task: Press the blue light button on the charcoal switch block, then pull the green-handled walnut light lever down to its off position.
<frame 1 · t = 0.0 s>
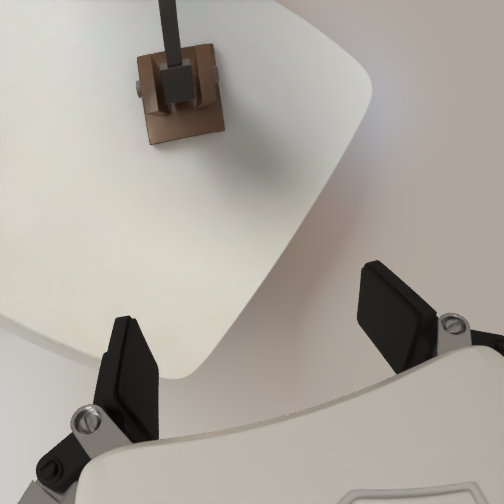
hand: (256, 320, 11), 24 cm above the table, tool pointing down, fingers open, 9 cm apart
lever bracket: (180, 93, 27), on the table
light lever: (169, 24, 15), point 12 cm above the table, hinge at 25.0°
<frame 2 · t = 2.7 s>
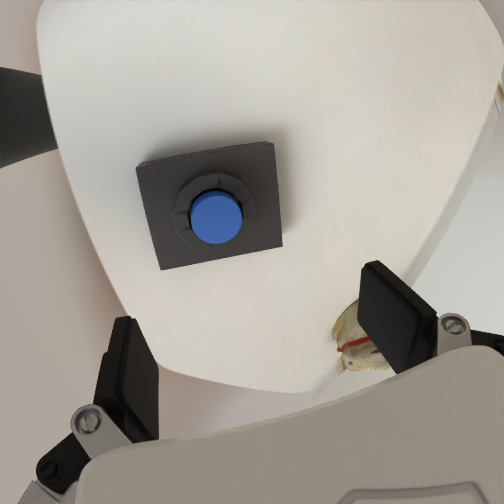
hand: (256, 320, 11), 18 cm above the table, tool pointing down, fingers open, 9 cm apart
button block: (211, 202, 28), on the table
blue button: (215, 217, 24), point 4 cm above the table, slide at 0.1 cm
chocolate bunny: (350, 318, 39), on the table
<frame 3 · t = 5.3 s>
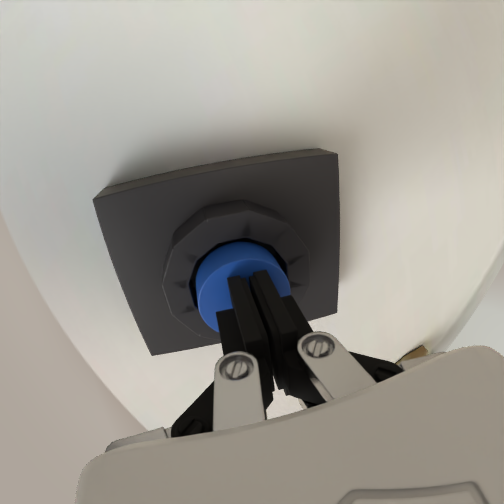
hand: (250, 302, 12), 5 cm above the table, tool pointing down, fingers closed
button block: (227, 248, 17), on the table
blue button: (241, 290, 13), point 4 cm above the table, slide at 0.0 cm, touching gripper
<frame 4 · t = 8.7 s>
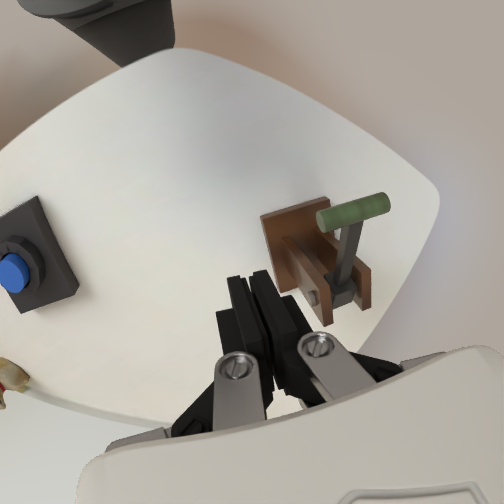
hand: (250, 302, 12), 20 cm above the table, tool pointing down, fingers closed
button block: (28, 255, 28), on the table
lever bracket: (301, 244, 35), on the table
blue button: (13, 273, 24), point 4 cm above the table, slide at 0.1 cm
chocolate bunny: (10, 367, 34), on the table
light lever: (345, 259, 22), point 12 cm above the table, hinge at 25.0°
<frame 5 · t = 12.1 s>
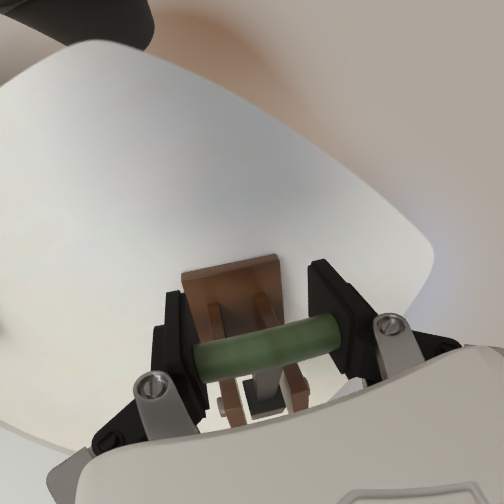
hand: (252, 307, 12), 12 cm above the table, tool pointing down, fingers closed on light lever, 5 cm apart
lever bracket: (237, 310, 27), on the table
light lever: (264, 382, 14), point 12 cm above the table, hinge at 25.0°, touching gripper
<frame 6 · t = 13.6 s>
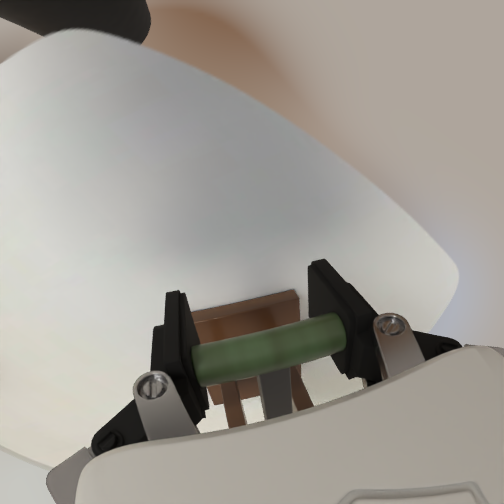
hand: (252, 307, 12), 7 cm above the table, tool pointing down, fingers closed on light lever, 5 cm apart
lever bracket: (248, 350, 23), on the table
light lever: (279, 426, 12), point 10 cm above the table, hinge at -1.3°, touching gripper
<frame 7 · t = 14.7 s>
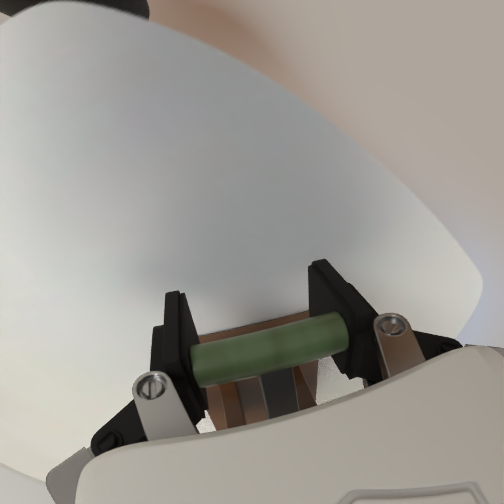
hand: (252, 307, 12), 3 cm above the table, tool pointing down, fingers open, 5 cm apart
lever bracket: (257, 377, 19), on the table
light lever: (290, 456, 10), point 8 cm above the table, hinge at -20.6°
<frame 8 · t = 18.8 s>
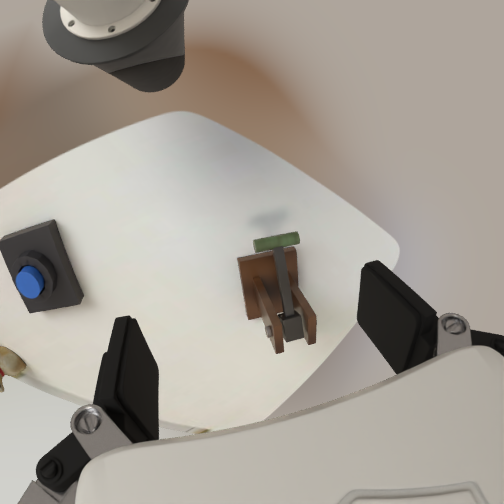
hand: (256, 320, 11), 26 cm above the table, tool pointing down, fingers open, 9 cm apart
button block: (42, 266, 34), on the table
lever bracket: (269, 282, 43), on the table
blue button: (29, 282, 30), point 4 cm above the table, slide at 0.1 cm
chocolate bunny: (9, 355, 39), on the table
light lever: (284, 288, 33), point 8 cm above the table, hinge at -20.7°
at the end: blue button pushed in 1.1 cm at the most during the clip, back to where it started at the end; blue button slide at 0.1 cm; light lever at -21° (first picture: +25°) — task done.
